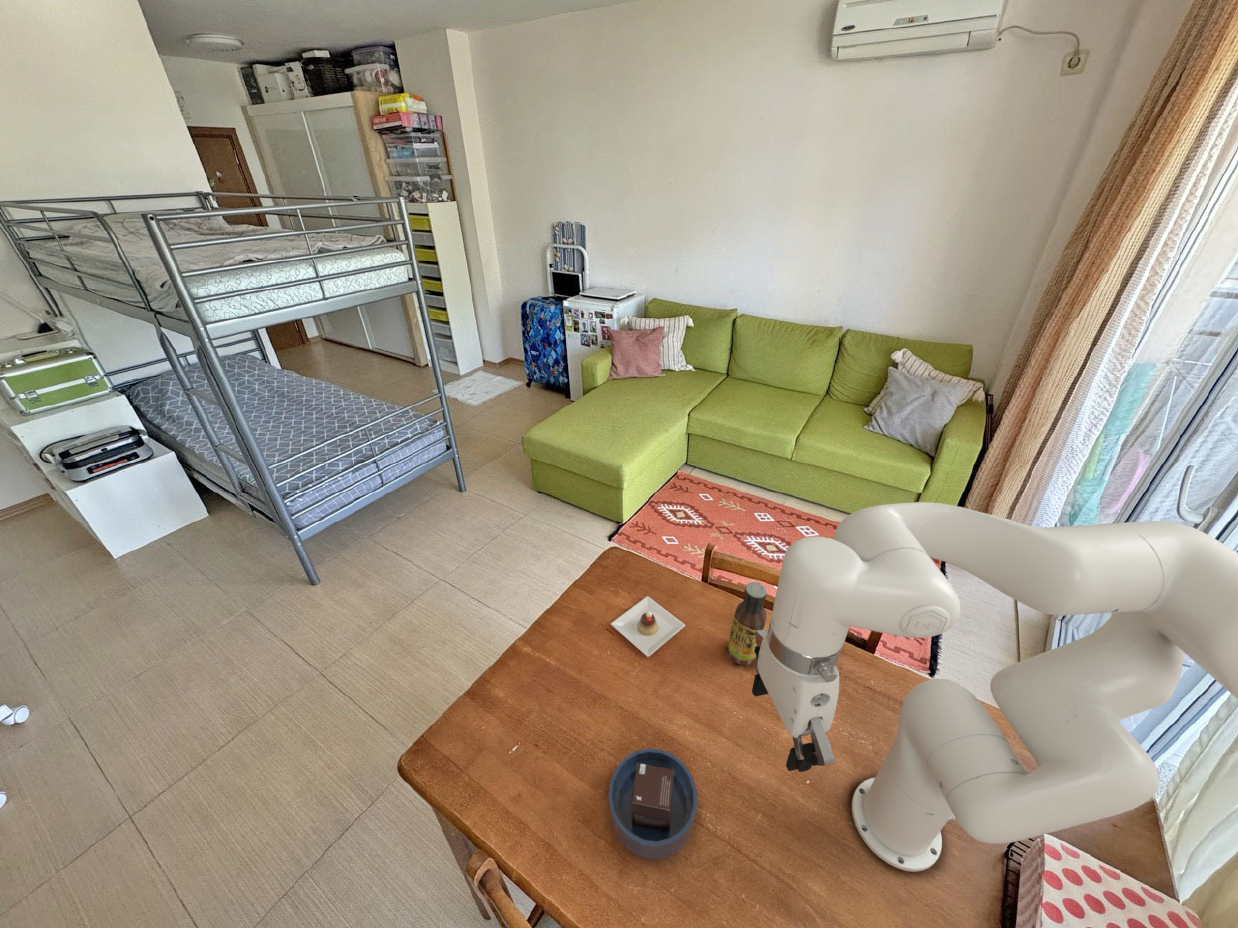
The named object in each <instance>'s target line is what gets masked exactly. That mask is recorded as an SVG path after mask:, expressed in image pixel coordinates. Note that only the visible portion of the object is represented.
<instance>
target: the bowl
mask: <svg viewBox="0 0 1238 928" xmlns="http://www.w3.org/2000/svg"><path fill="white" fill-rule="evenodd" d="M638 763H640V764H645V765H650V766H655V767H661V768H666V769H671V770H674V779H673V796H672V807H671V817H670V826H669V832H666V831H662V830H657V829H652V828H647V827H642V826H637V825H633V824H632V807H631V806H632V803H631V801H632V794H633V788H634V781H635V775H636V769H637V764H638ZM695 783H696V782H695V781H694V777H693V775H692V774H691V772H690V771H689V769H688V766H686V764H685V763H684V762H683V761H681V760H680V759H679V757H677V756H676V755H674V754H672V753H670V752H668V751H666V750H664V749H659V748H650V747H649V748H643V749H639V750H635V751H634V752H632V753H630V754H628V755H627V756H625V757H624V758H623V759H622V760H621V761H620V762H619V764H618V765H617V766H616V768H615V769H614V771H613V773H612V776H611V778H610V781H609V787H608V793H607V794H608V795H607V798H608V807H609V808H608V811H609V817H610V818H609V819H610V823H611V827H612V829H613V831H614V833H615V835H616V838H617V839H618V841H619V842H620V843H621V844H622V845H623V846H624V847H625V848H626V849H627V850H628V852H630V853H632V854H633V855H636V856H637V857H639V858H641V859H646V860H653V861H658V860H662V859H667V858H671V857H672V856H673V855H675V854H677V853H678V852H680V851H681V850H682V849H683V848H684V847H685V846H686V844H687V842H688V841H689V840H690V839H691V836H692V833H693V830H694V827H695V823H696V818H697V810H698V790H697V787H696V784H695Z"/></svg>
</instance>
